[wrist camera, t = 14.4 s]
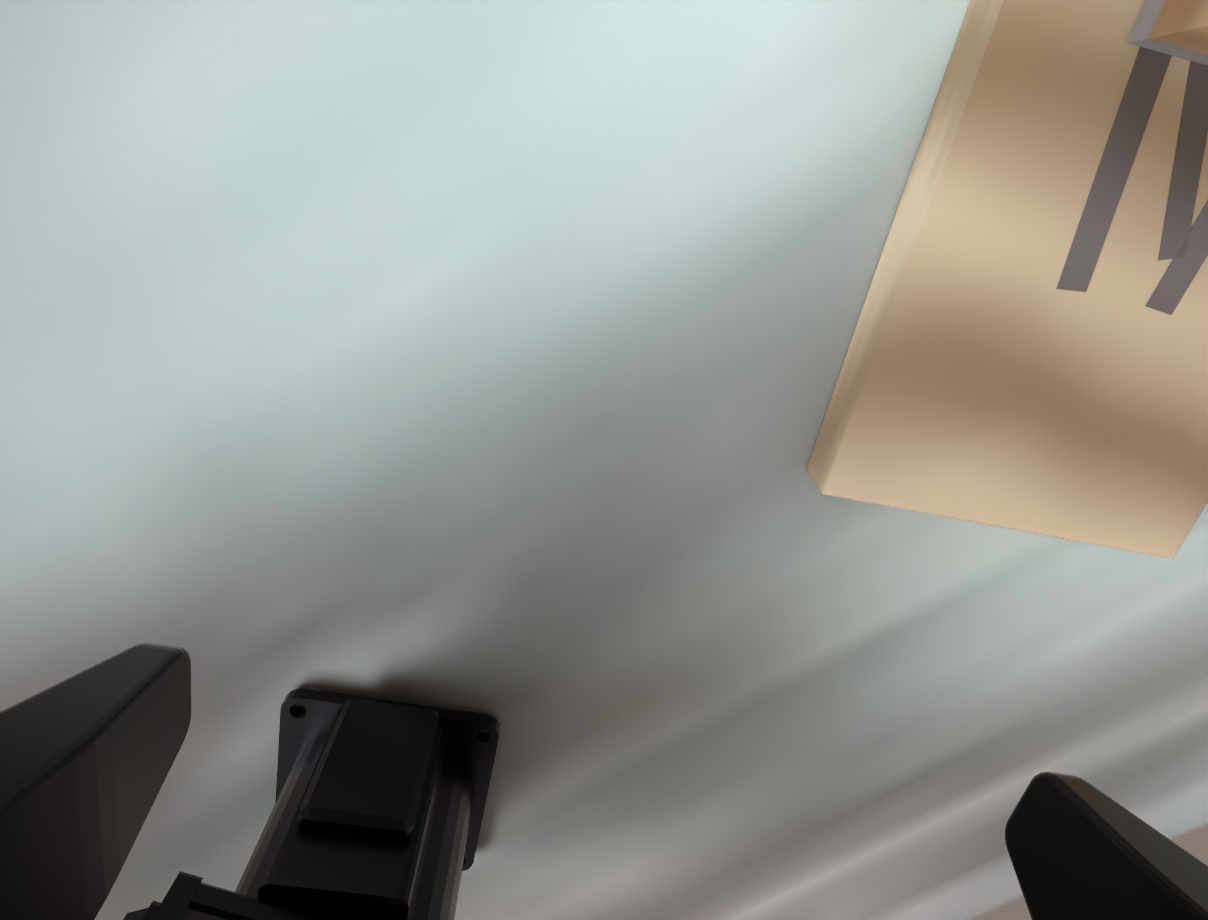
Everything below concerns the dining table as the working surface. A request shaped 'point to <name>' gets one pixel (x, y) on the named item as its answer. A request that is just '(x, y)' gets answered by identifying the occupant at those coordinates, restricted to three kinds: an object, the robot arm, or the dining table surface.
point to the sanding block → (1173, 28)
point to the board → (1041, 292)
